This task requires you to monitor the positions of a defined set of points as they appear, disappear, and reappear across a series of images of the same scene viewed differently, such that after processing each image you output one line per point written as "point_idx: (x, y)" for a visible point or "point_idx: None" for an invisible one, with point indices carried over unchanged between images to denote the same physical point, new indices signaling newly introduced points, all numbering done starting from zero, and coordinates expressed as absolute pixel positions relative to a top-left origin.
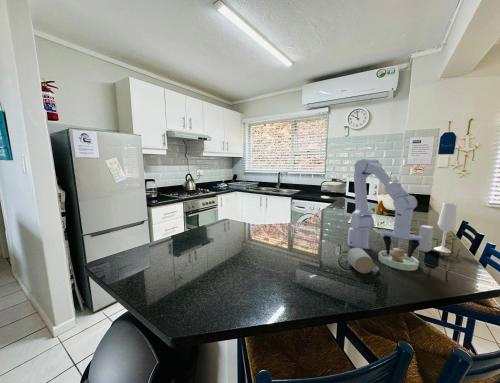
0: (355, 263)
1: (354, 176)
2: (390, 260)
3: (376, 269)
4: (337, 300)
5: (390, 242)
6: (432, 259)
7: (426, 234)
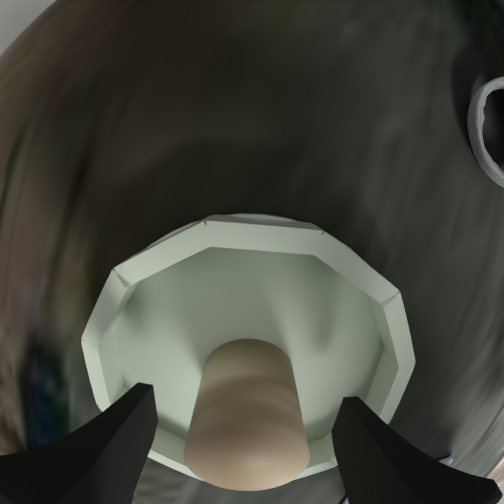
0: None
1: None
2: (375, 273)
3: (493, 79)
4: None
5: (427, 496)
6: (40, 435)
7: None
